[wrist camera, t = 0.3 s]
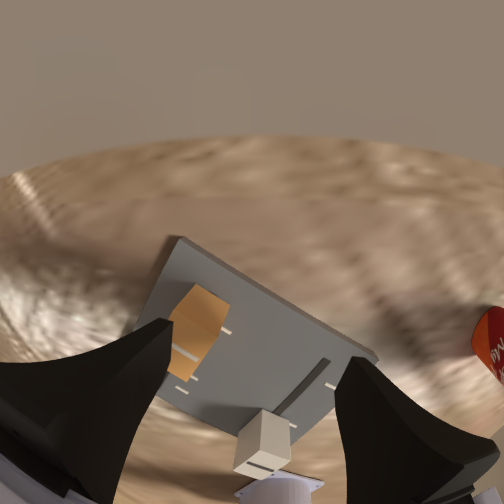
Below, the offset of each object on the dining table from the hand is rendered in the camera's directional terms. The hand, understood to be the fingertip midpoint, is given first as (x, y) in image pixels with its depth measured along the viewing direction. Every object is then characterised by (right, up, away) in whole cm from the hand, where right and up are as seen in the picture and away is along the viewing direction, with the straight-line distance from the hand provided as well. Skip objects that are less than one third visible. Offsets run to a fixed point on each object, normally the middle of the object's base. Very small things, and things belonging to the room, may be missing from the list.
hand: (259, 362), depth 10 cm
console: (-1, -5, +11) cm, 13 cm away
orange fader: (-4, 0, +9) cm, 10 cm away
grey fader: (+1, -11, +11) cm, 16 cm away
